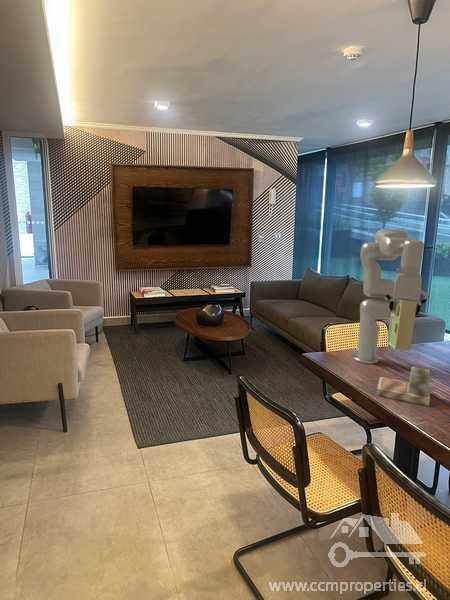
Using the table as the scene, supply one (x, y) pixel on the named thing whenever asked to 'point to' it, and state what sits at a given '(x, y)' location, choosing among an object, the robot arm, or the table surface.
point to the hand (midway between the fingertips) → (403, 312)
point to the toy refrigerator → (402, 324)
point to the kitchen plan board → (407, 387)
